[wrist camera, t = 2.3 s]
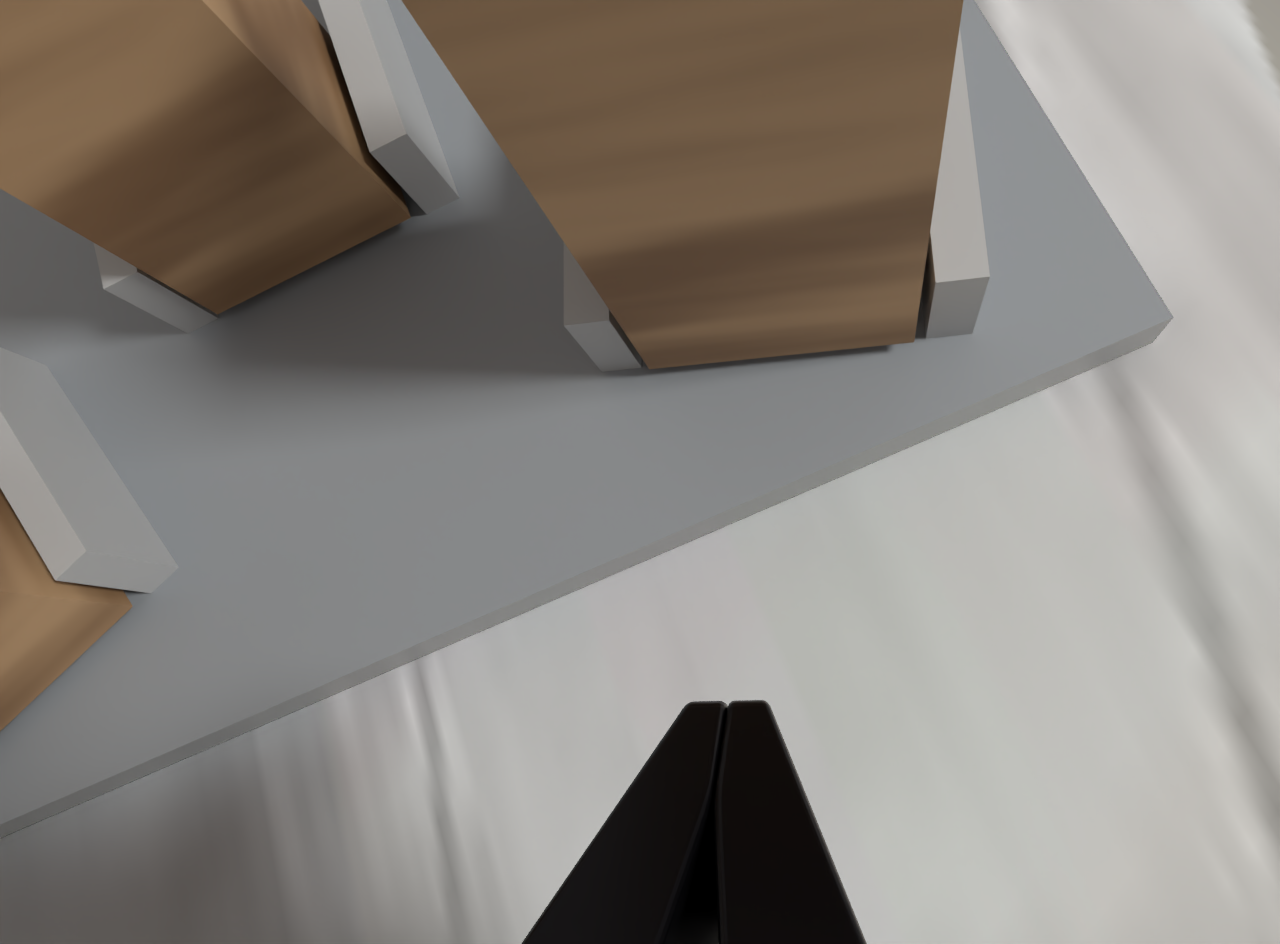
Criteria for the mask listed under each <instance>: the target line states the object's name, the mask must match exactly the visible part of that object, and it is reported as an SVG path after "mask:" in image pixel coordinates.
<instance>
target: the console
mask: <svg viewBox="0 0 1280 944" xmlns="http://www.w3.org/2000/svg"><path fill="white" fill-rule="evenodd" d="M301 1H302V2H303V3H304V4H305V6H306V7H307V8H308V9H309V11H310V12H311V13H312V14H313V15H314V17H315V18H316V19H317V20H318V22H319V23H320V24H321V25H322V26H323V28H324V29H325V30H326V31H327V33H328V34H329V35H330V36H331V39H332V42H333V45H334V48H335V51H336V54H337V57H338V60H339V63H340V66H341V69H342V72H343V75H344V78H345V81H346V84H347V87H348V90H349V93H350V96H351V98H352V101H353V104H354V107H355V110H356V113H357V116H358V119H359V122H360V125H361V128H362V131H363V134H364V137H365V140H366V143H367V146H368V149H369V152H370V153H371V154H372V155H373V157H374V158H375V159H376V160H377V161H378V162H379V163H380V164H381V165H382V166H383V167H384V168H385V170H386V171H387V172H388V173H389V174H390V175H391V176H392V177H393V178H394V179H395V180H396V181H397V183H398V184H399V185H400V188H401V190H402V193H403V196H404V199H405V202H406V205H407V208H408V211H409V214H410V216H411V218H409V219H407V220H405V221H403V222H401V223H399V224H397V225H395V226H393V227H391V228H389V229H387V230H385V231H383V232H381V233H379V234H377V235H375V236H373V237H371V238H369V239H367V240H365V241H363V242H361V243H359V244H357V245H355V246H353V247H351V248H349V249H347V250H345V251H343V252H341V253H339V254H337V255H335V256H333V257H331V258H329V259H327V260H325V261H323V262H321V263H319V264H317V265H315V266H313V267H311V268H309V269H307V270H305V271H303V272H301V273H299V274H297V275H295V276H293V277H291V278H289V279H287V280H286V281H284V282H282V283H280V284H278V285H276V286H274V287H272V288H270V289H268V290H266V291H264V292H262V293H260V294H258V295H256V296H254V297H252V298H250V299H248V300H246V301H244V302H242V303H240V304H238V305H236V306H234V307H232V308H230V309H228V310H226V311H224V312H222V313H220V314H216V313H214V312H212V311H211V310H209V309H207V308H206V307H204V306H202V305H200V304H199V303H197V302H195V301H193V300H192V299H190V298H188V297H187V296H185V295H183V294H181V293H180V292H178V291H176V290H174V289H173V288H171V287H169V286H168V285H166V284H164V283H162V282H161V281H159V280H157V279H156V278H154V277H152V276H150V275H149V274H147V273H145V272H143V271H142V270H140V269H138V268H137V267H135V266H133V265H131V264H130V263H128V262H126V261H124V260H123V259H121V258H119V257H118V256H116V255H114V254H112V253H111V252H109V251H107V250H105V249H104V248H102V247H100V246H99V245H97V244H95V243H93V242H92V241H90V240H88V239H86V238H85V237H83V236H81V235H80V234H78V233H76V232H74V231H73V230H71V229H69V228H67V227H66V226H64V225H62V224H61V223H59V222H57V221H55V220H54V219H52V218H50V217H48V216H47V215H45V214H43V213H42V212H40V211H38V210H36V209H35V208H33V207H31V206H29V205H28V204H26V203H24V202H23V201H21V200H19V199H17V198H16V197H14V196H12V195H10V194H9V193H7V192H5V191H4V190H2V189H0V488H1V490H2V492H3V493H4V495H5V497H6V498H7V500H8V502H9V503H10V505H11V507H12V508H13V510H14V512H15V513H16V515H17V517H18V519H19V520H20V522H21V524H22V525H23V527H24V529H25V530H26V532H27V534H28V535H29V537H30V539H31V540H32V542H33V544H34V546H35V547H36V549H37V551H38V552H39V554H40V556H41V557H42V559H43V561H44V562H45V564H46V566H47V567H48V569H49V571H50V573H51V574H52V576H53V578H54V579H55V580H56V581H63V582H71V583H78V584H86V585H93V586H101V587H108V588H115V589H122V590H123V591H124V593H125V594H126V596H127V598H128V599H129V601H130V602H131V604H132V606H133V607H132V608H131V609H130V610H129V611H128V612H126V613H125V614H124V615H123V616H122V617H121V618H120V619H119V620H118V621H117V622H116V623H115V624H114V625H113V626H112V627H111V628H109V629H108V630H107V631H106V632H105V633H104V634H103V635H102V636H101V637H100V638H99V639H98V640H97V641H96V642H95V643H94V644H92V645H91V646H90V647H89V648H88V649H87V650H86V651H85V652H84V653H83V654H82V655H81V656H80V657H79V658H78V659H77V660H75V661H74V662H73V663H72V664H71V665H70V666H69V667H68V668H67V669H66V670H65V671H64V672H63V673H62V674H61V675H60V676H58V677H57V678H56V679H55V680H54V681H53V682H52V683H51V684H50V685H49V686H48V687H47V688H46V689H45V690H44V691H43V692H41V693H40V694H39V695H38V696H37V697H36V698H35V699H34V700H33V701H32V702H31V703H30V704H29V705H28V706H27V707H26V708H24V709H23V710H22V711H21V712H20V713H19V714H18V715H17V716H16V717H15V718H14V719H13V720H12V721H11V722H10V723H9V724H7V725H6V726H5V727H4V728H3V729H2V730H1V731H0V838H2V837H4V836H7V835H9V834H11V833H14V832H16V831H18V830H20V829H23V828H25V827H27V826H30V825H32V824H34V823H37V822H39V821H41V820H44V819H46V818H48V817H51V816H53V815H55V814H58V813H60V812H62V811H65V810H67V809H69V808H72V807H74V806H76V805H79V804H81V803H83V802H86V801H88V800H90V799H93V798H95V797H97V796H100V795H102V794H104V793H107V792H109V791H111V790H113V789H116V788H118V787H120V786H123V785H125V784H127V783H130V782H132V781H134V780H137V779H139V778H141V777H144V776H146V775H148V774H151V773H153V772H155V771H158V770H160V769H162V768H165V767H167V766H169V765H172V764H174V763H176V762H179V761H181V760H183V759H186V758H188V757H190V756H193V755H195V754H197V753H199V752H202V751H204V750H206V749H209V748H211V747H213V746H216V745H218V744H220V743H223V742H225V741H227V740H230V739H232V738H234V737H237V736H239V735H241V734H244V733H246V732H248V731H251V730H253V729H255V728H258V727H260V726H262V725H265V724H267V723H269V722H272V721H274V720H276V719H279V718H281V717H283V716H286V715H288V714H290V713H292V712H295V711H297V710H299V709H302V708H304V707H306V706H309V705H311V704H313V703H316V702H318V701H320V700H323V699H325V698H327V697H330V696H332V695H334V694H337V693H339V692H341V691H344V690H346V689H348V688H351V687H353V686H355V685H358V684H360V683H362V682H365V681H367V680H369V679H372V678H374V677H376V676H378V675H381V674H383V673H385V672H388V671H390V670H392V669H395V668H397V667H399V666H402V665H404V664H406V663H409V662H411V661H413V660H416V659H418V658H420V657H423V656H425V655H427V654H430V653H432V652H434V651H437V650H439V649H441V648H444V647H446V646H448V645H451V644H453V643H455V642H458V641H460V640H462V639H465V638H467V637H469V636H471V635H474V634H476V633H478V632H481V631H483V630H485V629H488V628H490V627H492V626H495V625H497V624H499V623H502V622H504V621H506V620H509V619H511V618H513V617H516V616H518V615H520V614H523V613H525V612H527V611H530V610H532V609H534V608H537V607H539V606H541V605H544V604H546V603H548V602H551V601H553V600H555V599H557V598H560V597H562V596H564V595H567V594H569V593H571V592H574V591H576V590H578V589H581V588H583V587H585V586H588V585H590V584H592V583H595V582H597V581H599V580H602V579H604V578H606V577H609V576H611V575H613V574H616V573H618V572H620V571H623V570H625V569H627V568H630V567H632V566H634V565H637V564H639V563H641V562H644V561H646V560H648V559H650V558H653V557H655V556H657V555H660V554H662V553H664V552H667V551H669V550H671V549H674V548H676V547H678V546H681V545H683V544H685V543H688V542H690V541H692V540H695V539H697V538H699V537H702V536H704V535H706V534H709V533H711V532H713V531H716V530H718V529H720V528H723V527H725V526H727V525H730V524H732V523H734V522H736V521H739V520H741V519H743V518H746V517H748V516H750V515H753V514H755V513H757V512H760V511H762V510H764V509H767V508H769V507H771V506H774V505H776V504H778V503H781V502H783V501H785V500H788V499H790V498H792V497H795V496H797V495H799V494H802V493H804V492H806V491H809V490H811V489H813V488H816V487H818V486H820V485H823V484H825V483H827V482H829V481H832V480H834V479H836V478H839V477H841V476H843V475H846V474H848V473H850V472H853V471H855V470H857V469H860V468H862V467H864V466H867V465H869V464H871V463H874V462H876V461H878V460H881V459H883V458H885V457H888V456H890V455H892V454H895V453H897V452H899V451H902V450H904V449H906V448H909V447H911V446H913V445H915V444H918V443H920V442H922V441H925V440H927V439H929V438H932V437H934V436H936V435H939V434H941V433H943V432H946V431H948V430H950V429H953V428H955V427H957V426H960V425H962V424H964V423H967V422H969V421H971V420H974V419H976V418H978V417H981V416H983V415H985V414H988V413H990V412H992V411H995V410H997V409H999V408H1002V407H1004V406H1006V405H1008V404H1011V403H1013V402H1015V401H1018V400H1020V399H1022V398H1025V397H1027V396H1029V395H1032V394H1034V393H1036V392H1039V391H1041V390H1043V389H1046V388H1048V387H1050V386H1053V385H1055V384H1057V383H1060V382H1062V381H1064V380H1067V379H1069V378H1071V377H1074V376H1076V375H1078V374H1081V373H1083V372H1085V371H1088V370H1090V369H1092V368H1094V367H1097V366H1099V365H1101V364H1104V363H1106V362H1108V361H1111V360H1113V359H1115V358H1118V357H1120V356H1122V355H1125V354H1127V353H1129V352H1132V351H1134V350H1136V349H1139V348H1141V347H1143V346H1146V345H1148V344H1150V343H1152V342H1153V341H1154V340H1155V339H1156V338H1157V336H1158V335H1159V334H1160V333H1161V332H1162V330H1163V329H1164V328H1165V327H1166V326H1167V324H1168V323H1169V322H1170V321H1171V320H1172V318H1173V316H1172V314H1171V313H1170V311H1169V310H1168V308H1167V306H1166V305H1165V303H1164V302H1163V300H1162V298H1161V297H1160V295H1159V294H1158V292H1157V290H1156V289H1155V287H1154V286H1153V284H1152V283H1151V281H1150V279H1149V278H1148V276H1147V275H1146V273H1145V271H1144V270H1143V268H1142V267H1141V265H1140V263H1139V262H1138V260H1137V259H1136V257H1135V255H1134V254H1133V252H1132V251H1131V249H1130V247H1129V246H1128V244H1127V243H1126V241H1125V240H1124V238H1123V236H1122V235H1121V233H1120V232H1119V230H1118V228H1117V227H1116V225H1115V224H1114V222H1113V220H1112V219H1111V217H1110V216H1109V214H1108V212H1107V211H1106V209H1105V208H1104V206H1103V205H1102V203H1101V201H1100V200H1099V198H1098V197H1097V195H1096V193H1095V192H1094V190H1093V189H1092V187H1091V185H1090V184H1089V182H1088V181H1087V179H1086V177H1085V176H1084V174H1083V173H1082V171H1081V169H1080V168H1079V166H1078V165H1077V163H1076V162H1075V160H1074V158H1073V157H1072V155H1071V154H1070V152H1069V150H1068V149H1067V147H1066V146H1065V144H1064V142H1063V141H1062V139H1061V138H1060V136H1059V134H1058V133H1057V131H1056V130H1055V128H1054V126H1053V125H1052V123H1051V122H1050V120H1049V119H1048V117H1047V115H1046V114H1045V112H1044V111H1043V109H1042V107H1041V106H1040V104H1039V103H1038V101H1037V99H1036V98H1035V96H1034V95H1033V93H1032V91H1031V90H1030V88H1029V87H1028V85H1027V83H1026V82H1025V80H1024V79H1023V77H1022V76H1021V74H1020V72H1019V71H1018V69H1017V68H1016V66H1015V64H1014V63H1013V61H1012V60H1011V58H1010V56H1009V55H1008V53H1007V52H1006V50H1005V48H1004V47H1003V45H1002V44H1001V42H1000V40H999V39H998V37H997V36H996V34H995V33H994V31H993V29H992V28H991V26H990V25H989V23H988V21H987V20H986V18H985V17H984V15H983V13H982V12H981V10H980V9H979V7H978V5H977V4H976V2H975V1H974V0H963V7H962V14H961V21H960V28H959V35H958V42H957V49H956V56H955V62H954V69H953V76H952V83H951V90H950V97H949V104H948V111H947V118H946V125H945V132H944V139H943V146H942V153H941V159H940V166H939V173H938V180H937V187H936V194H935V201H934V208H933V215H932V222H931V229H930V236H929V243H928V250H927V256H926V263H925V270H924V277H923V284H922V291H921V298H920V305H919V312H918V319H917V326H916V333H915V340H914V342H912V343H902V344H892V345H883V346H873V347H863V348H853V349H843V350H834V351H824V352H814V353H804V354H794V355H785V356H775V357H765V358H755V359H745V360H736V361H726V362H716V363H706V364H696V365H687V366H677V367H667V368H657V369H649V368H648V367H647V365H646V364H645V362H644V361H643V359H642V358H641V356H640V355H639V353H638V352H637V350H636V349H635V347H634V346H633V344H632V343H631V341H630V340H629V338H628V337H627V335H626V334H625V332H624V331H623V329H622V328H621V326H620V325H619V323H618V322H617V320H616V319H615V317H614V316H613V314H612V313H611V311H610V310H609V309H608V307H607V306H606V304H605V303H604V301H603V300H602V298H601V297H600V295H599V294H598V292H597V291H596V289H595V288H594V286H593V285H592V283H591V282H590V280H589V279H588V277H587V276H586V274H585V273H584V271H583V270H582V268H581V267H580V265H579V264H578V262H577V261H576V259H575V258H574V256H573V255H572V253H571V252H570V250H569V249H568V247H567V246H566V244H565V243H564V242H563V240H562V239H561V237H560V236H559V234H558V233H557V231H556V230H555V228H554V227H553V225H552V224H551V222H550V221H549V219H548V218H547V216H546V215H545V213H544V212H543V210H542V209H541V207H540V206H539V204H538V203H537V201H536V200H535V198H534V197H533V195H532V194H531V192H530V191H529V189H528V188H527V186H526V185H525V183H524V182H523V180H522V179H521V178H520V176H519V175H518V173H517V172H516V170H515V169H514V167H513V166H512V164H511V163H510V161H509V160H508V158H507V157H506V155H505V154H504V152H503V151H502V149H501V148H500V146H499V145H498V143H497V142H496V140H495V139H494V137H493V136H492V134H491V133H490V131H489V130H488V128H487V127H486V125H485V124H484V122H483V121H482V119H481V118H480V116H479V115H478V114H477V112H476V111H475V109H474V108H473V106H472V105H471V103H470V102H469V100H468V99H467V97H466V96H465V94H464V93H463V91H462V90H461V88H460V87H459V85H458V84H457V82H456V81H455V79H454V78H453V76H452V75H451V73H450V72H449V70H448V69H447V67H446V66H445V64H444V63H443V61H442V60H441V58H440V57H439V55H438V54H437V52H436V51H435V49H434V48H433V47H432V45H431V44H430V42H429V41H428V39H427V38H426V36H425V35H424V33H423V32H422V30H421V29H420V27H419V26H418V24H417V23H416V21H415V20H414V18H413V17H412V15H411V14H410V12H409V11H408V9H407V8H406V6H405V5H404V3H403V2H402V0H301Z"/></svg>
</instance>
